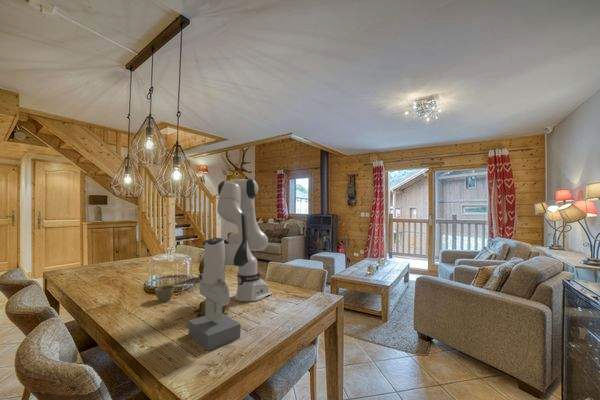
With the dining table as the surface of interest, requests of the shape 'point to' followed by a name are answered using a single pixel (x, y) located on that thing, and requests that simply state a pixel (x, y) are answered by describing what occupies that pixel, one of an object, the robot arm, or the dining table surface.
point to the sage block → (211, 310)
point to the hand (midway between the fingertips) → (213, 310)
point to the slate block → (214, 331)
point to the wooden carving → (202, 309)
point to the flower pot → (164, 293)
